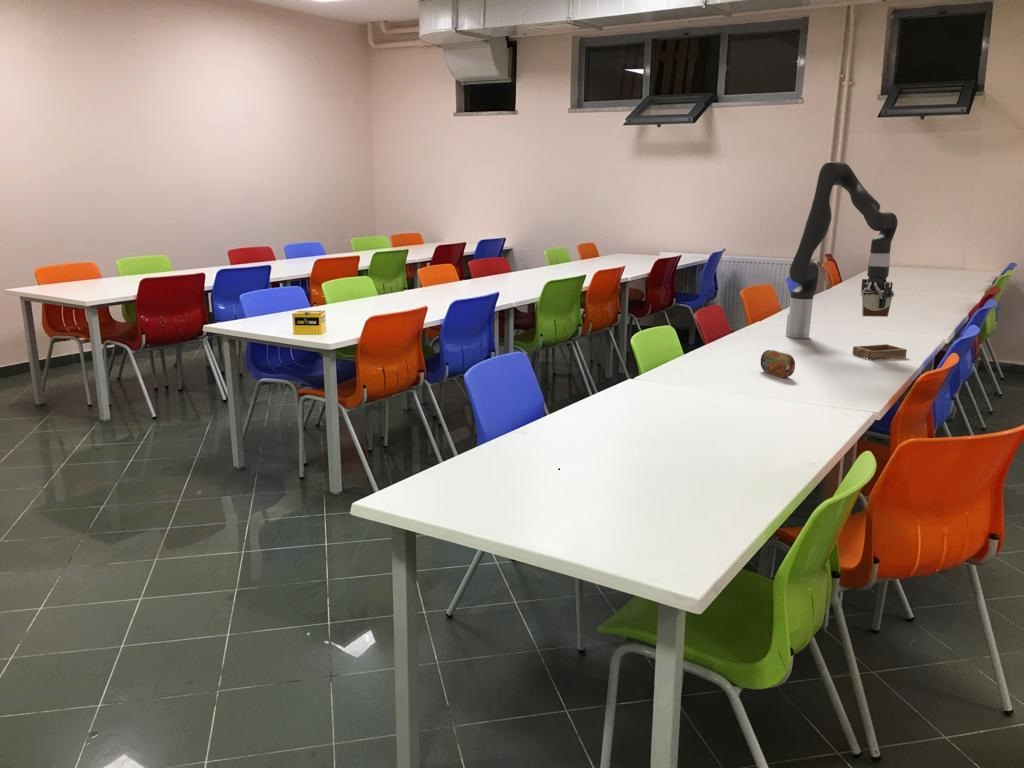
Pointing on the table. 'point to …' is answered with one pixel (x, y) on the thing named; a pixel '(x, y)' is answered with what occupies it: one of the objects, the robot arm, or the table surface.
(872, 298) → the food container
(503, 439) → the table surface
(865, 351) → the holder
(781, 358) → the tin
